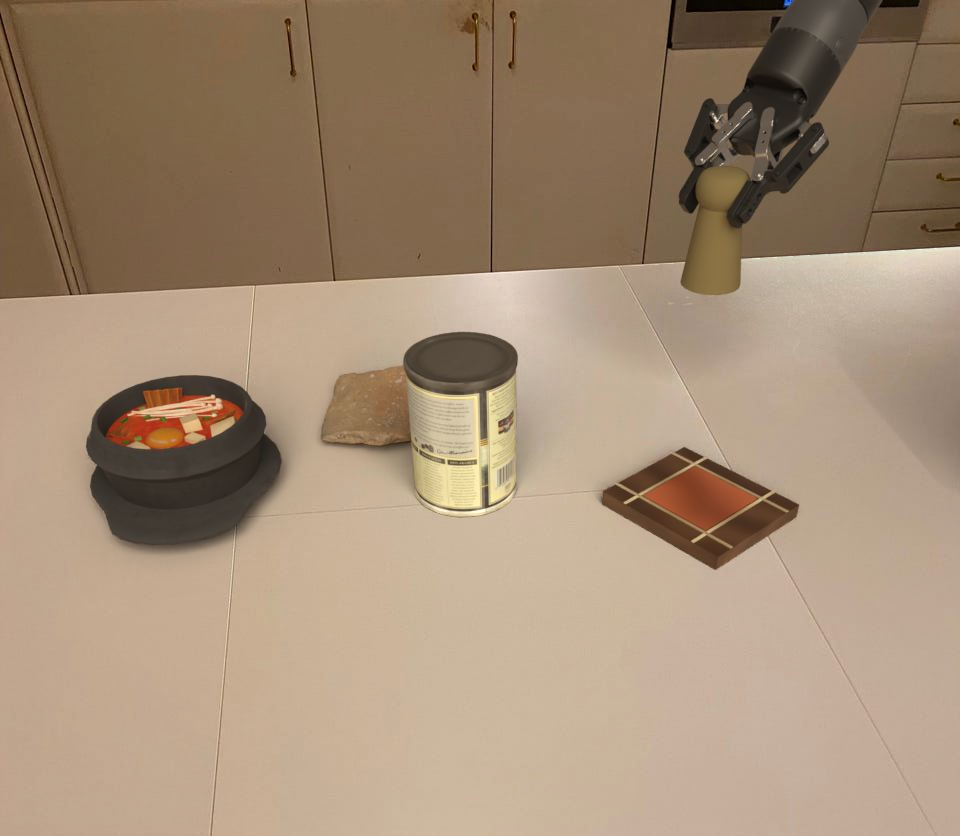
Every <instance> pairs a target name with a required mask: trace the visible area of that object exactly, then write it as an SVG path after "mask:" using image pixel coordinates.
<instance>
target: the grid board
mask: <svg viewBox="0 0 960 836" xmlns="http://www.w3.org/2000/svg"><path fill="white" fill-rule="evenodd" d="M601 505H603V506H604V507H606V508H608V509H609V510H611V511H613V512H615V513H616V514H619V515H620V516H622V517H623V518H625V519H627V520H628V521H630V522H632V523H634V524H636V525H637V526H639V527H641V528H642V529H644V530H646V531H648V532H649V533H651V534H653V535H654V536H657V537H658V538H659V539H662V540H663V541H665V542H666V543H668V544H670V545H671V546H674V547H675V548H676V549H678V550H680V551H682V552H684V553H686V554H688V555H689V556H690V557H692V558H694V559H696V560H697V561H699V562H701V563H703V564H704V565H706V566H708V567H709V568H711V569H713V570H715V571H716V570H719V569H720V568H721V567H722V566H724V565H726V564H727V563H728V562H730V561H732V560H733V559H735V558H736V557H738V556H739V555H741V554H742V553H744V552H745V551H747V550H748V549H750V548H752V547H753V546H755V545H756V544H757V543H759V542H761V541H763V540H764V539H765V538H767V537H769V536H770V535H771V534H773V533H774V532H776V531H778V530H779V529H781V528H782V527H784V526H785V525H787V524H788V523H790V522H792V521H793V520H794V519H796V518H797V516H798V512H799V508H800V504H799V503H797V502H795V501H793V500H791V499H789V498H787V497H785V496H783V495H782V494H779V493H777V492H776V490H774V489H769V488H767V487H766V486H763V485H762V484H759V483H758V482H755V481H754V480H751V479H749V478H748V477H745V476H743V475H742V474H739V473H737V472H736V471H733V470H731V469H729V468H728V467H726V466H724V465H721V464H720V463H718V462H716V461H713V460H711V459H709V457H708V456H705V455H704V456H703V455H701V454H700V453H698V452H696V451H694V450H691V449H689V448H687V447H686V446H683V447H681V448H679V449H678V450H675V451H671V452H670V454H668V455H666V456H665V457H663V458H661V459H659V460H657V461H655V462H654V463H651V464H650V465H648V466H645V468H642V469H641V470H638V471H637V472H635V473H633V474H632V475H629V476H628V477H626V478H624V479H622V480H621V481H618V482H615V483H614V484H613V485H611V486H610V487H607V488H605V489H604V490H602V495H601Z"/></svg>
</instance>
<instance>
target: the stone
mask: <svg viewBox="0 0 960 836" xmlns="http://www.w3.org/2000/svg"><path fill="white" fill-rule="evenodd" d="M324 415H325V416H324V420H323V423H322V426H321V434H320V440H322V441H323V442H326V443H339V444H351V445H353V444H361V443H362V444H365V445H368V446H378V447H379V446H386V445H390V444H397V443H403V442H404V443H405V442H411V432H410V420H409V407H408V395H407V383H406V372H405V369H404V364H403V365H397V366H390V367H387V368H384V369H375V370H369V371H365V372H360V373H356V372H349V373H344V374H341V375H339V376H338V378H336V381H335V383H334V388H333V396H332V398H331V401H330V403H329V405H328V408H327V409H326V413H325V414H324Z"/></svg>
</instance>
